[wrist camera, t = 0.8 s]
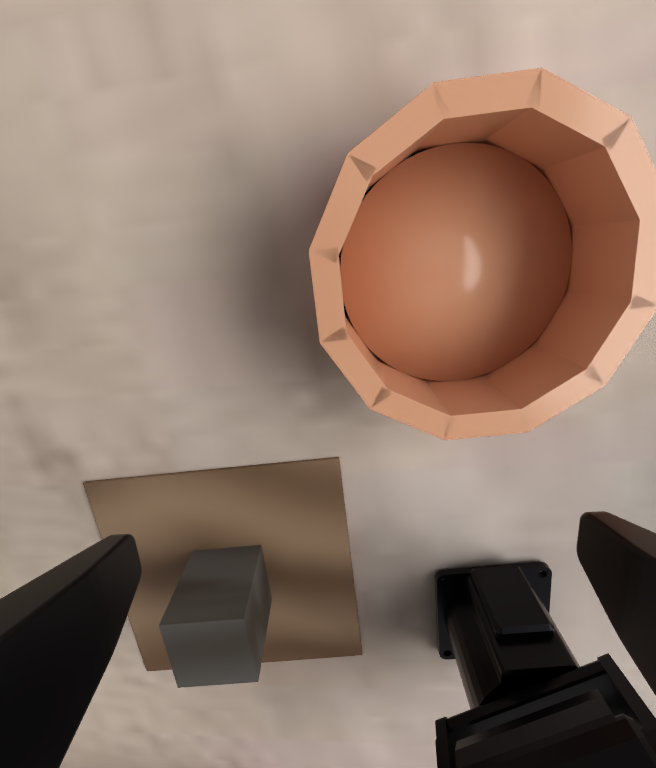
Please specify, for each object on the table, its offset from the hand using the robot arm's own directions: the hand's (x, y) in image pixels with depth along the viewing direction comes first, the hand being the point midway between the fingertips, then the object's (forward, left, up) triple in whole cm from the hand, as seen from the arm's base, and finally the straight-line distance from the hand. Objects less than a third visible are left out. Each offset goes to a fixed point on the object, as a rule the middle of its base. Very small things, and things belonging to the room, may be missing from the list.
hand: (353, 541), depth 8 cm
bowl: (+4, -5, -13) cm, 15 cm away
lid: (-12, +8, -14) cm, 20 cm away
